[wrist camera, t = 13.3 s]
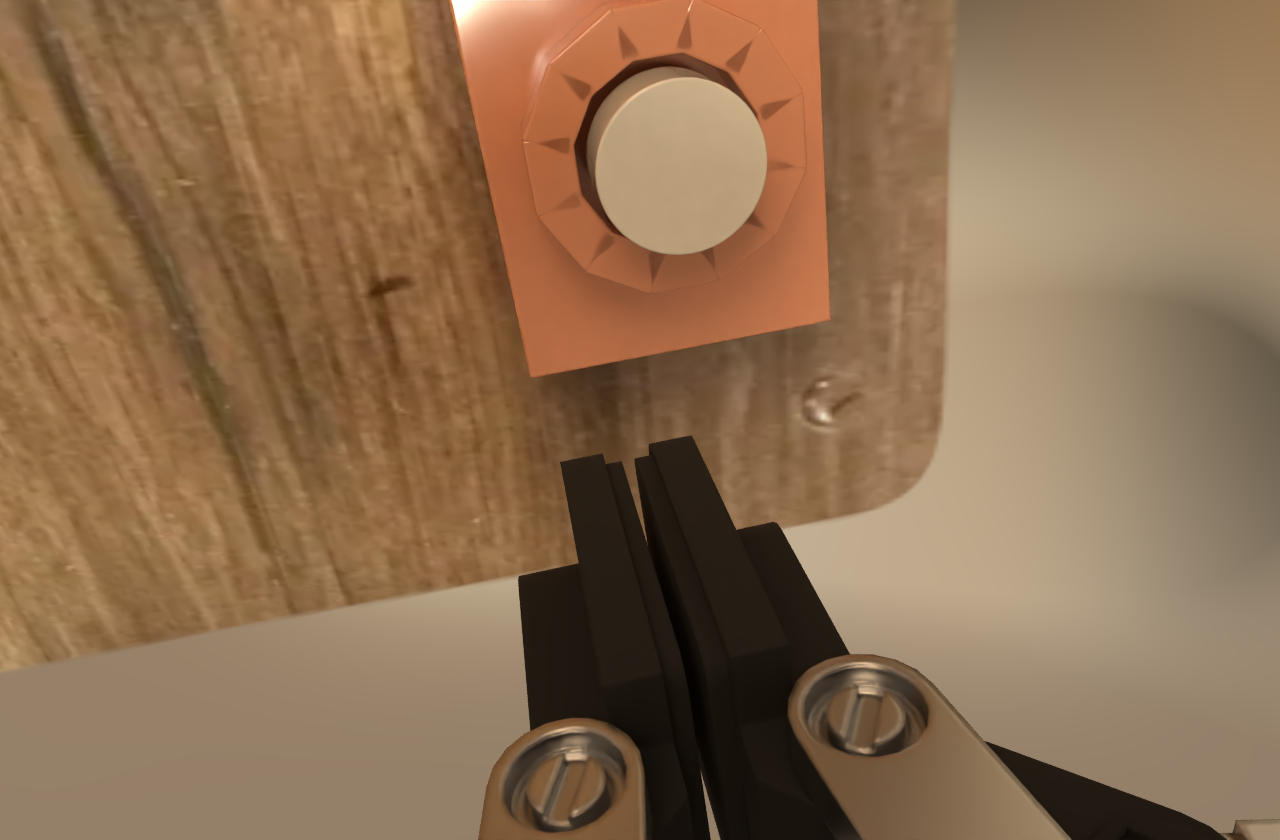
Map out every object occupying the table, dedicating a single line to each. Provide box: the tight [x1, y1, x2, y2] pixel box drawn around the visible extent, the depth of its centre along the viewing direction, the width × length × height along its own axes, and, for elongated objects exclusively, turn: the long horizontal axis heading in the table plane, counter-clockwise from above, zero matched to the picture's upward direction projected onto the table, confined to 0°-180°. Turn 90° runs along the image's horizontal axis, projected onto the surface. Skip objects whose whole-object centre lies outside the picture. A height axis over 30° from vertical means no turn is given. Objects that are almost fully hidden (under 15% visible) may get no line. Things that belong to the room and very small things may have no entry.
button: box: [586, 67, 767, 255], centre depth 22 cm, size 4×4×2 cm
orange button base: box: [448, 0, 830, 378], centre depth 25 cm, size 12×9×5 cm
